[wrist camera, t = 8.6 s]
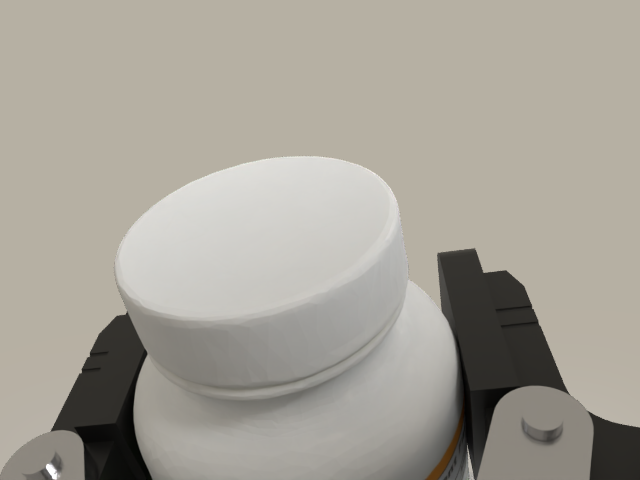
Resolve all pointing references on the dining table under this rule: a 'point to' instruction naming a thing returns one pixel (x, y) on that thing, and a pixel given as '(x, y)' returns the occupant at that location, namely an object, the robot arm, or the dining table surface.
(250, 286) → the supplement bottle
